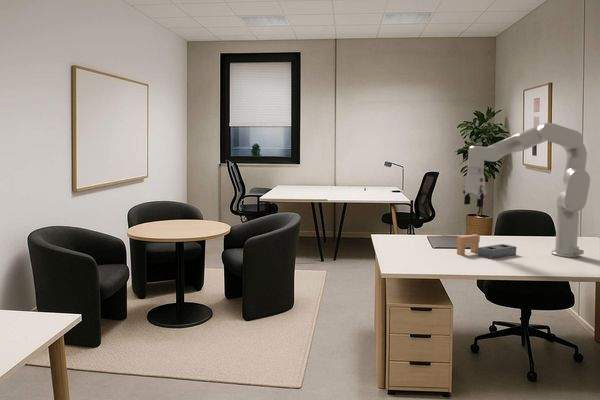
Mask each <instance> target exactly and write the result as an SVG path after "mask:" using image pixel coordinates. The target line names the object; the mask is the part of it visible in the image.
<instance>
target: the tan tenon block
mask: <svg viewBox="0 0 600 400" xmlns="http://www.w3.org/2000/svg"><path fill="white" fill-rule="evenodd" d="M480 237H481V235H480V234H475V233H474V234H467V235H459V236H456V255H460V256H463V255H465V253H466V245H469V244H470V253H475V254H476V253H478V248H479V246H480V245H479V244H480Z"/></svg>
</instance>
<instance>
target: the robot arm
mask: <svg viewBox="0 0 600 400" xmlns="http://www.w3.org/2000/svg"><path fill="white" fill-rule="evenodd" d="M544 142H551V143H553V144H556V145H559V146H560V147H562V148H563V149H564V150H565V152H566V164H565V168H564V172H563V177H562V181H563V183H564V185H565V186H566V189H565V190H563V191H561V192H560V193H559V194H558V196H557V199H556V211H557V212H556V229H555V230H556V231H555V249H553V250H551V255H554V256H557V257H564V258H579V257H580V256H581V255H582V256H583V255H584V253H585V250H583V249H580V246H578V238H579V237H578V234H579V222H580V213H579V212H581V211H582V210H584V208H585V206H586V204H587V200H588V195H589V190H590V185H591V178H590V175H589V173H588V171H586V165H587V156H588V153H587V152H588V151H587V149H586V146H585V144H584V136H583V134H582V133H581V132H580V131H578V130H575V129H572V128H568V127H565V126H563V125H558V124H557V123H553V122H543V123H541V124H539V125H536V126H533V127H531V128H527V129H526V130H524V131H521V132H518V133H517V134H514V135H512V136H510V137H507V138H505V139H502V140H501V141H497V142H496V143H492V144H491V145H488V146H482V145H471V146H469V148H468V155H467V156H468V157H467V171H466V173H467V174H466V178H465V184H464V186H463V187H462V194H463V197H464V199H463V200H464V202H463V204H464V205H470V204H471V195H476V196H477V200H476V207H477V208H482V207H484V199H485V197H486V196H487V192H488V190H487V189H486V177H485V174H484V168H485V161H487V162H492V163H493V162H498V161H499V160H500V159H502V157H504V156H508V155H510V154H513V153H518V152H522V151H525V150H528V149H530V148H533V147H535V146H537V145H540V144H542V143H544Z"/></svg>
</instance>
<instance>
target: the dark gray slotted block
mask: <svg viewBox="0 0 600 400" xmlns="http://www.w3.org/2000/svg"><path fill="white" fill-rule="evenodd" d="M516 255H517V246H514V245H510V244H505V243H504V244H503V243H501V244H494V245H487V246H480V247H479V248H478V252H477V256H478V257H481V258H487V259H491V260H492V259H499V258H505V257H511V256H512V257H513V256H516Z"/></svg>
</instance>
